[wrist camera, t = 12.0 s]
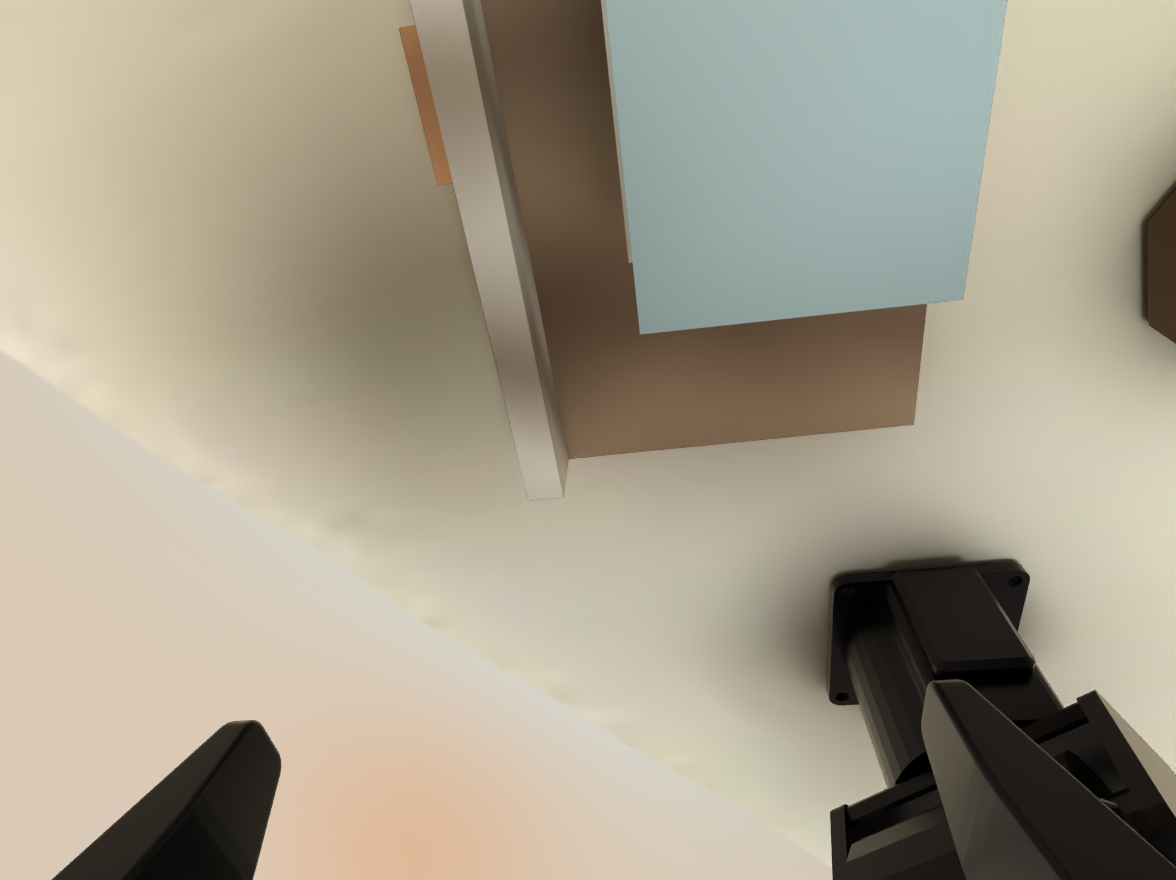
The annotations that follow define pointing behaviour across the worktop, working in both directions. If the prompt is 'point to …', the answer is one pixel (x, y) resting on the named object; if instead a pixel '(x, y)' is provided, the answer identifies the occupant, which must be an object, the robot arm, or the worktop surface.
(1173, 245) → the beer bottle
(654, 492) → the worktop surface
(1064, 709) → the robot arm
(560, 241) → the shelf board
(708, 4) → the product carton
